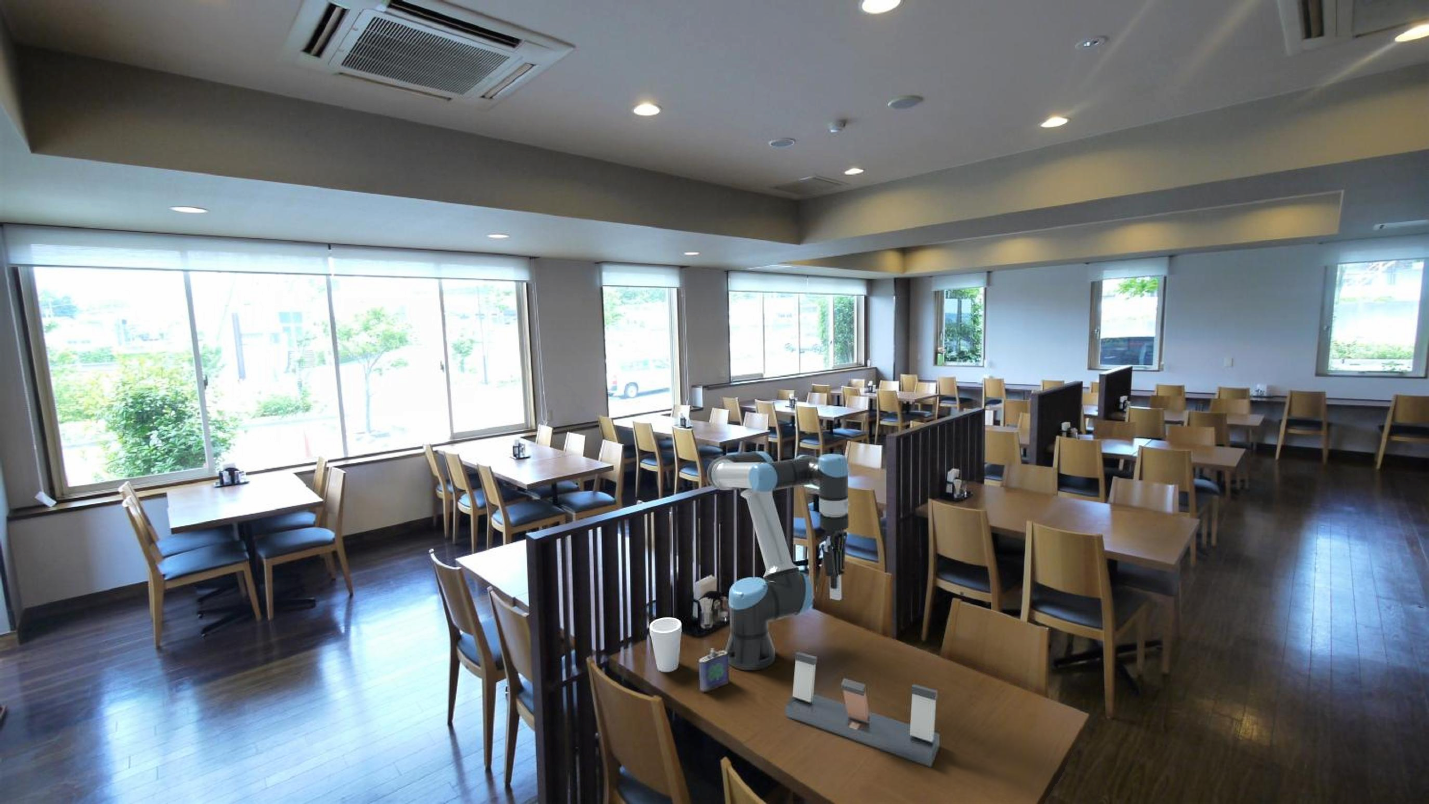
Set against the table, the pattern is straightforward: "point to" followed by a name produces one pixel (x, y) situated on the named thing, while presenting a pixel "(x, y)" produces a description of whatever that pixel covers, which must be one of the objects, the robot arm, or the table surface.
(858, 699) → the lever middle
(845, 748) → the table surface
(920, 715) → the lever right
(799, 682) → the lever left
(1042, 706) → the table surface
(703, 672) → the flask
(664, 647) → the foam cup
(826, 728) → the switch panel
